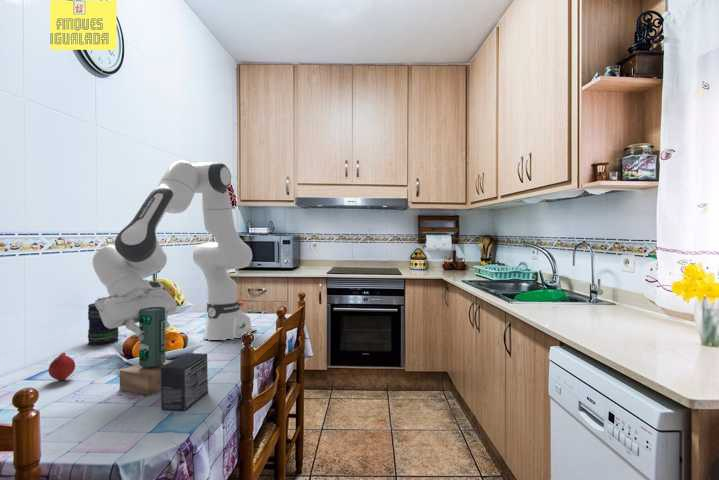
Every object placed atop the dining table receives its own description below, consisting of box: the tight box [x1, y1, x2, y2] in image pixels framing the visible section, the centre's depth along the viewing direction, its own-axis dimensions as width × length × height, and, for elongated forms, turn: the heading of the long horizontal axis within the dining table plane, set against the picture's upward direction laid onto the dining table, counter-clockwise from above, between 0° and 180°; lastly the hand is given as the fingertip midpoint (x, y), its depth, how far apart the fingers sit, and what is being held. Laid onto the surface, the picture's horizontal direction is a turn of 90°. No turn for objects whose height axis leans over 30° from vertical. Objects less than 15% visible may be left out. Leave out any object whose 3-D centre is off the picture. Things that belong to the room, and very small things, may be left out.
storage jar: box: [87, 302, 120, 347], centre depth 142 cm, size 10×10×15 cm
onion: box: [48, 351, 76, 382], centre depth 103 cm, size 6×6×8 cm
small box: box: [160, 352, 209, 412], centre depth 90 cm, size 11×6×10 cm, turn 174°
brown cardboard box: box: [119, 359, 172, 397], centre depth 101 cm, size 11×11×5 cm
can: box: [138, 307, 166, 367], centre depth 101 cm, size 6×6×15 cm
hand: (154, 330), depth 100 cm, fingers closed on can, 6 cm apart
